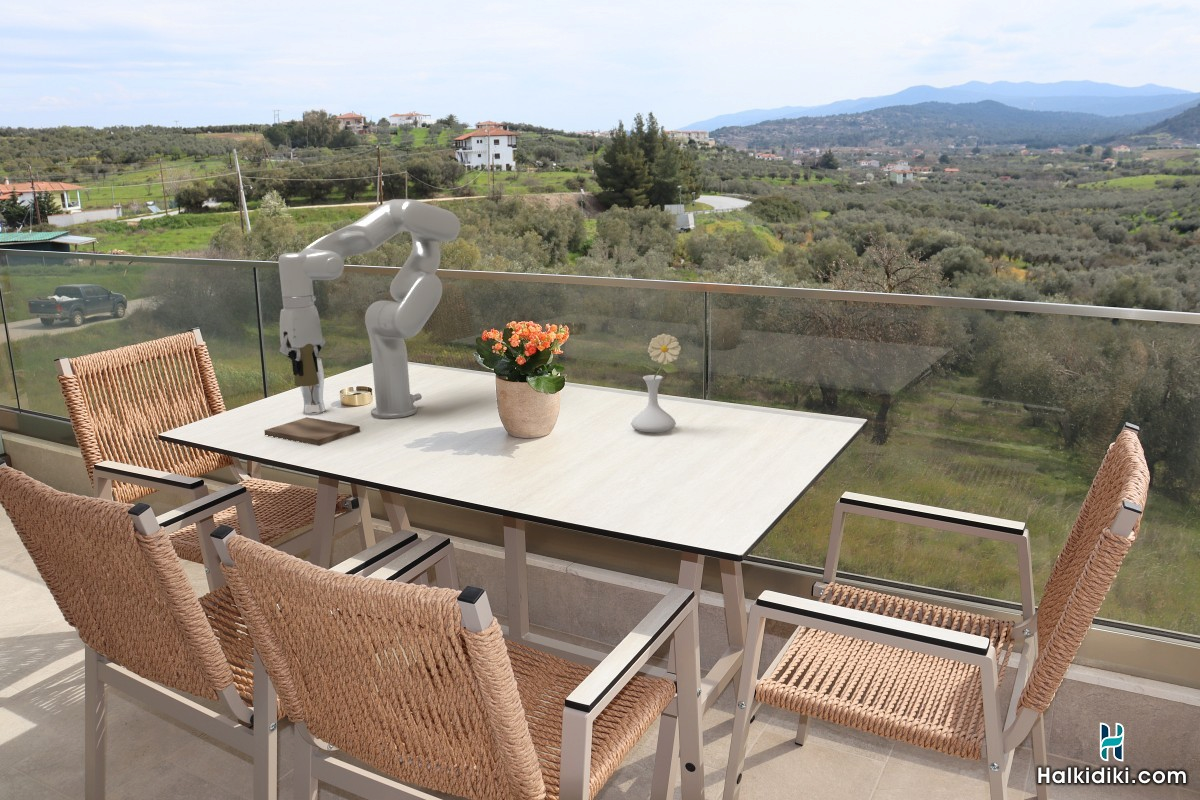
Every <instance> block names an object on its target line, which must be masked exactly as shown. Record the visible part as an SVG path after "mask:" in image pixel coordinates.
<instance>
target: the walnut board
mask: <svg viewBox="0 0 1200 800" xmlns="http://www.w3.org/2000/svg"><path fill="white" fill-rule="evenodd" d="M360 432H361V426H360V425H356V424H349V423H345V422H344V423H343V422H339V421H338V422H337V421H330V420H325V419H320V418H319V419H318V418H314V417H304V418H300V419H297V420H293V421H289V422H287V423H284V424H280V425H277V426H274V427H271V428H267V429H264V436H265V435H268V436H267V437H269V436H273V437H272V438H275V437H278V438H277V439H280V438H283V439H282V440H286V439H288V440H287V441H291V440H293V441H292V442H296V441H299V442H298V443H302V442H303V443H302V444H307V443H308V444H307V445H313V446H322V445H325V444H328V443H330V442H334V441H336V440H339V439H343V438H345V437H348V436H351V435H354V434H357V433H360Z"/></svg>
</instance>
